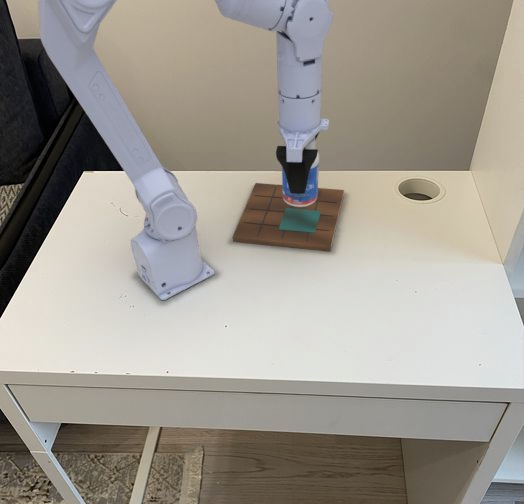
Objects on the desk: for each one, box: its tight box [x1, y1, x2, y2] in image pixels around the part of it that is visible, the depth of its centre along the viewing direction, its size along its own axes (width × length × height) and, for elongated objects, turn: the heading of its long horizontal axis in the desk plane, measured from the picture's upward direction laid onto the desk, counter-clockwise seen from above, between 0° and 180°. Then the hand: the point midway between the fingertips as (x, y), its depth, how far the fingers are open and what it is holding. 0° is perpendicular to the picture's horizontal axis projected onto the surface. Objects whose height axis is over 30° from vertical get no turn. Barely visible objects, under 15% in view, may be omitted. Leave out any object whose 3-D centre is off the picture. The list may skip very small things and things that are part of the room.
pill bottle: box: [281, 137, 320, 207], centre depth 80 cm, size 6×5×10 cm
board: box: [232, 182, 345, 252], centre depth 92 cm, size 16×16×1 cm
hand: (299, 181), depth 82 cm, fingers closed on pill bottle, 5 cm apart
